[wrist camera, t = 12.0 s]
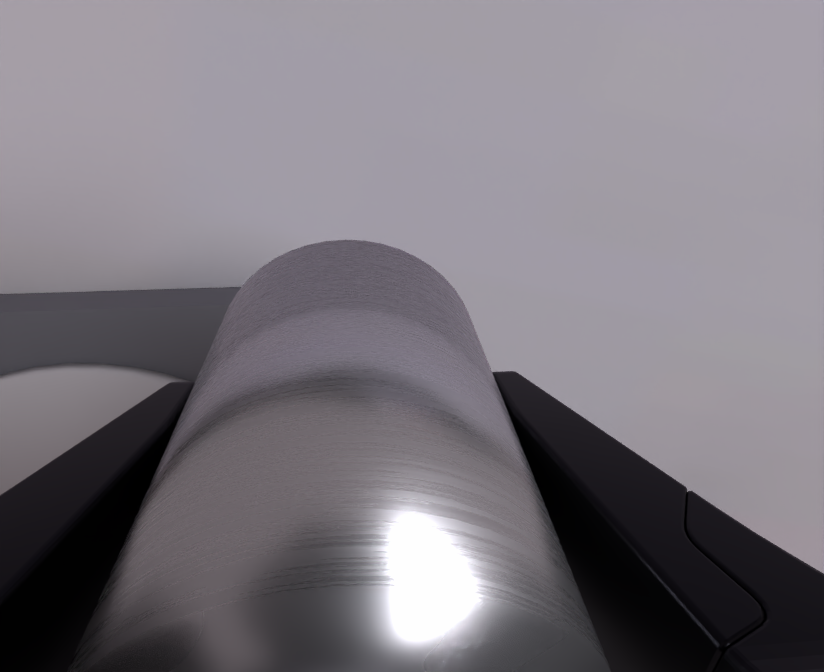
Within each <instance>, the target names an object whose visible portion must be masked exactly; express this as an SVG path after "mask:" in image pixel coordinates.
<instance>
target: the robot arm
mask: <svg viewBox="0 0 824 672" xmlns="http://www.w3.org/2000/svg"><path fill="white" fill-rule="evenodd" d="M492 373H493V376H494V378H495V381H496V383H497V386H498V388H499V391H500V393H501V396H502V398H503V401H504V403H505V406H506V408H507V411H508V413H509V416H510V418H511V421H512V423H513V426H514V428H515V431H516V433H517V436H518V438H519V441H520V443H521V446H522V448H523V451H524V453H525V456H526V458H527V461H528V464H529V466H530V469H531V471H532V474H533V476H534V479H535V481H536V484H537V486H538V489H539V491H540V494H541V496H542V499H543V501H544V504H545V506H546V509H547V511H548V514H549V516H550V519H551V521H552V524H553V526H554V529H555V531H556V534H557V536H558V539H559V541H560V544H561V546H562V549H563V551H564V554H565V556H566V559H567V561H568V564H569V566H570V569H571V571H572V574H573V576H574V579H575V581H576V584H577V586H578V589H579V592H580V594H581V597H582V599H583V602H584V604H585V607H586V609H587V612H588V614H589V617H590V619H591V622H592V624H593V627H594V629H595V632H596V634H597V637H598V639H599V642H600V644H601V647H602V649H603V652H604V654H605V657H606V659H607V662H608V664H609V667H610V669H611V672H824V574H823V573H822V572H820V571H818V570H816V569H815V568H813V567H811V566H810V565H808V564H806V563H804V562H803V561H801V560H799V559H798V558H796V557H794V556H793V555H791V554H789V553H788V552H786V551H784V550H783V549H781V548H780V547H778V546H776V545H775V544H773V543H771V542H770V541H768V540H766V539H765V538H763V537H761V536H760V535H758V534H756V533H755V532H753V531H752V530H750V529H749V528H747V527H746V526H744V525H742V524H741V523H739V522H738V521H736V520H735V519H733V518H732V517H730V516H729V515H727V514H726V513H724V512H722V511H721V510H719V509H718V508H716V507H715V506H713V505H712V504H710V503H709V502H707V501H706V500H704V499H703V498H702V497H700V496H699V495H697V494H696V493H694V492H693V491H688V492H687V488H686V487H685V486H684V485H682V484H681V483H679V482H678V481H676V480H675V479H673V478H672V477H670V476H669V475H667V474H666V473H664V472H663V471H661V470H660V469H658V468H657V467H656V466H654V465H653V464H651V463H650V462H648V461H647V460H645V459H644V458H642V457H641V456H639V455H638V454H636V453H635V452H633V451H632V450H630V449H629V448H627V447H626V446H625V445H623V444H622V443H620V442H619V441H617V440H616V439H614V438H613V437H611V436H610V435H608V434H607V433H605V432H604V431H602V430H601V429H599V428H598V427H597V426H595V425H594V424H592V423H591V422H589V421H588V420H586V419H585V418H583V417H582V416H580V415H579V414H577V413H576V412H574V411H573V410H571V409H570V408H568V407H567V406H566V405H564V404H563V403H561V402H560V401H558V400H557V399H555V398H554V397H552V396H551V395H549V394H548V393H546V392H545V391H543V390H542V389H540V388H539V387H538V386H536V385H535V384H533V383H532V382H530V381H529V380H527V379H526V378H524V377H523V376H521V375H520V374H518V373H517V372H514V371H505V372H492ZM194 384H195V382H194V381H189V382H171V383H168V384H166V385H165V386H163V387H162V388H160V389H159V390H157V391H156V392H154V393H153V394H151V395H150V396H148V397H147V398H145V399H144V400H142V401H141V402H139V403H138V404H136V405H135V406H133V407H132V408H130V409H129V410H127V411H126V412H124V413H123V414H121V415H120V416H118V417H117V418H115V419H114V420H112V421H111V422H109V423H108V424H106V425H105V426H103V427H102V428H100V429H99V430H97V431H96V432H94V433H93V434H91V435H90V436H88V437H87V438H85V439H84V440H82V441H81V442H79V443H78V444H76V445H75V446H73V447H72V448H70V449H69V450H67V451H66V452H64V453H63V454H61V455H60V456H58V457H57V458H55V459H54V460H52V461H51V462H49V463H48V464H46V465H45V466H43V467H42V468H40V469H39V470H37V471H36V472H34V473H33V474H31V475H30V476H28V477H27V478H25V479H24V480H22V481H21V482H19V483H18V484H16V485H15V486H13V487H12V488H10V489H9V490H7V491H6V492H4V493H3V494H1V495H0V672H67V671H68V668H69V666H70V664H71V662H72V659H73V657H74V655H75V653H76V650H77V648H78V646H79V644H80V641H81V639H82V637H83V635H84V632H85V630H86V628H87V626H88V623H89V621H90V619H91V617H92V614H93V612H94V610H95V607H96V605H97V603H98V601H99V598H100V596H101V594H102V592H103V589H104V587H105V585H106V583H107V580H108V578H109V576H110V574H111V571H112V569H113V567H114V565H115V562H116V560H117V558H118V556H119V553H120V551H121V549H122V546H123V544H124V542H125V540H126V537H127V535H128V533H129V531H130V528H131V526H132V524H133V522H134V519H135V517H136V515H137V513H138V510H139V508H140V506H141V504H142V501H143V499H144V497H145V495H146V492H147V490H148V488H149V485H150V483H151V481H152V479H153V476H154V474H155V472H156V470H157V467H158V465H159V463H160V461H161V458H162V456H163V454H164V452H165V449H166V447H167V445H168V443H169V440H170V438H171V436H172V434H173V431H174V429H175V427H176V424H177V422H178V420H179V418H180V415H181V413H182V411H183V409H184V406H185V404H186V402H187V400H188V397H189V395H190V393H191V391H192V388H193V386H194Z"/></svg>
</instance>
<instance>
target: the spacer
mask: <svg viewBox="0 0 824 672" xmlns="http://www.w3.org/2000/svg"><path fill="white" fill-rule="evenodd" d="M67 672H611V669H610V667H609V664H608V662H607V659H606V657H605V654H604V652H603V649H602V647H601V644H600V642H599V639H598V637H597V634H596V632H595V629H594V627H593V624H592V622H591V619H590V617H589V614H588V612H587V609H586V607H585V604H584V602H583V599H582V597H581V594H580V592H579V589H578V586H577V584H576V581H575V579H574V576H573V574H572V571H571V569H570V566H569V564H568V561H567V559H566V556H565V554H564V551H563V549H562V546H561V544H560V541H559V539H558V536H557V534H556V531H555V529H554V526H553V524H552V521H551V519H550V516H549V514H548V511H547V509H546V506H545V504H544V501H543V499H542V496H541V494H540V491H539V489H538V486H537V484H536V481H535V479H534V476H533V474H532V471H531V469H530V466H529V464H528V461H527V458H526V456H525V453H524V451H523V448H522V446H521V443H520V441H519V438H518V436H517V433H516V431H515V428H514V426H513V423H512V421H511V418H510V416H509V413H508V411H507V408H506V406H505V403H504V401H503V398H502V396H501V393H500V391H499V388H498V386H497V383H496V381H495V378H494V376H493V373H492V371H491V368H490V366H489V363H488V361H487V358H486V356H485V353H484V351H483V348H482V346H481V343H480V341H479V338H478V336H477V333H476V331H475V328H474V325H473V323H472V320H471V318H470V315H469V313H468V311H467V309H466V307H465V305H464V303H463V301H462V299H461V298H460V296H459V295H458V293H457V292H456V290H455V289H454V288H453V287H452V286H451V284H450V283H449V282H448V281H447V280H446V279H445V278H444V277H443V276H442V275H441V274H440V273H439V272H437V271H436V270H435V269H434V268H433V267H431V266H430V265H428V264H427V263H425V262H424V261H422V260H420V259H419V258H417V257H415V256H413V255H411V254H409V253H407V252H405V251H402V250H400V249H397V248H394V247H391V246H387V245H384V244H380V243H374V242H368V241H359V240H336V241H325V242H320V243H315V244H310V245H307V246H304V247H301V248H298V249H295V250H292V251H289V252H287V253H285V254H283V255H281V256H279V257H277V258H275V259H274V260H272V261H271V262H269V263H268V264H266V265H265V266H263V267H262V268H260V269H259V270H258V271H257V272H256V273H255V274H254V275H252V276H251V277H250V278H249V279H248V280H247V281H246V282H245V284H244V285H243V286H242V287H241V288H240V290H239V291H238V292H237V293H236V295H235V297H234V298H233V300H232V302H231V304H230V305H229V307H228V309H227V311H226V314H225V316H224V318H223V321H222V323H221V325H220V327H219V330H218V332H217V334H216V336H215V339H214V341H213V343H212V345H211V348H210V350H209V352H208V354H207V357H206V359H205V361H204V363H203V366H202V368H201V370H200V373H199V375H198V377H197V379H196V382H195V384H194V386H193V388H192V391H191V393H190V395H189V397H188V400H187V402H186V404H185V406H184V409H183V411H182V413H181V415H180V418H179V420H178V422H177V424H176V427H175V429H174V431H173V434H172V436H171V438H170V440H169V443H168V445H167V447H166V449H165V452H164V454H163V456H162V458H161V461H160V463H159V465H158V467H157V470H156V472H155V474H154V476H153V479H152V481H151V483H150V485H149V488H148V490H147V492H146V495H145V497H144V499H143V501H142V504H141V506H140V508H139V510H138V513H137V515H136V517H135V519H134V522H133V524H132V526H131V528H130V531H129V533H128V535H127V537H126V540H125V542H124V544H123V546H122V549H121V551H120V553H119V556H118V558H117V560H116V562H115V565H114V567H113V569H112V571H111V574H110V576H109V578H108V580H107V583H106V585H105V587H104V589H103V592H102V594H101V596H100V598H99V601H98V603H97V605H96V607H95V610H94V612H93V614H92V617H91V619H90V621H89V623H88V626H87V628H86V630H85V632H84V635H83V637H82V639H81V641H80V644H79V646H78V648H77V650H76V653H75V655H74V657H73V659H72V662H71V664H70V666H69V668H68V671H67Z"/></svg>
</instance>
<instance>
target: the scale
mask: <svg viewBox="0 0 824 672" xmlns="http://www.w3.org/2000/svg"><path fill="white" fill-rule="evenodd" d="M240 288H241V287H230V288H197V289H164V290H130V291H97V292H64V293H31V294H0V495H1V494H3V493H4V492H6V491H7V490H9V489H10V488H12V487H13V486H15V485H16V484H18V483H19V482H21V481H22V480H24V479H25V478H27V477H28V476H30V475H31V474H33V473H34V472H36V471H37V470H39V469H40V468H42V467H43V466H45V465H46V464H48V463H49V462H51V461H52V460H54V459H55V458H57V457H58V456H60V455H61V454H63V453H64V452H66V451H67V450H69V449H70V448H72V447H73V446H75V445H76V444H78V443H79V442H81V441H82V440H84V439H85V438H87V437H88V436H90V435H91V434H93V433H94V432H96V431H97V430H99V429H100V428H102V427H103V426H105V425H106V424H108V423H109V422H111V421H112V420H114V419H115V418H117V417H118V416H120V415H121V414H123V413H124V412H126V411H127V410H129V409H130V408H132V407H133V406H135V405H136V404H138V403H139V402H141V401H142V400H144V399H145V398H147V397H148V396H150V395H151V394H153V393H154V392H156V391H157V390H159V389H160V388H162V387H163V386H165V385H166V384H168V383H171V382H189V381H194V382H196V379H197V377H198V375H199V373H200V370H201V368H202V366H203V363H204V361H205V359H206V357H207V354H208V352H209V350H210V348H211V345H212V343H213V341H214V339H215V336H216V334H217V332H218V330H219V327H220V325H221V323H222V321H223V318H224V316H225V314H226V311H227V309H228V307H229V305H230V304H231V302H232V300H233V298H234V297H235V295H236V293H237V292H238V291H239V290H240Z"/></svg>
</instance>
